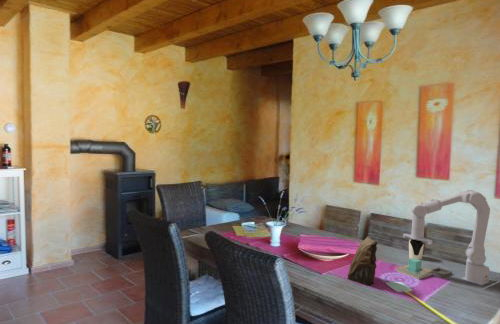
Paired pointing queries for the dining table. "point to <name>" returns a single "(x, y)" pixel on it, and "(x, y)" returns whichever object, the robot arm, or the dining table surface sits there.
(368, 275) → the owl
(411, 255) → the beige tapered cup
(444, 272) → the dark brown square tray
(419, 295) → the dining table surface
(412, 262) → the mint green block
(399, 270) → the port
